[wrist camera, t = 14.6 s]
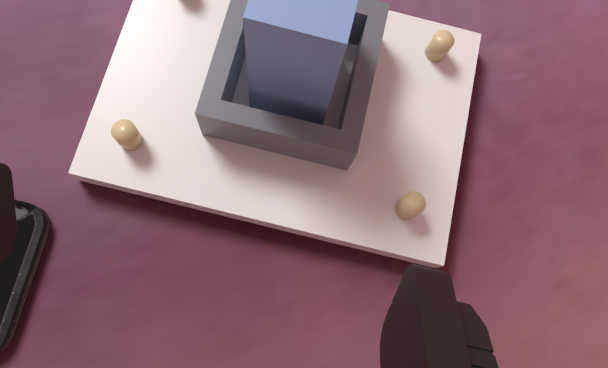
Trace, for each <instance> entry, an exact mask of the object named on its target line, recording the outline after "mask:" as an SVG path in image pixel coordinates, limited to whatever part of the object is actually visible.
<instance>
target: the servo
mask: <svg viewBox="0 0 608 368" xmlns="http://www.w3.org/2000/svg"><path fill="white" fill-rule="evenodd" d="M357 3H358V0H248V2H247V6H246V9H245V12H244V15H243V25H244V38H245V51H246V64H247V77H248V90H249V103H250V107H252V108H256V109H260V110H264V111H268V112H272V113H276V114H280V115H284V116H288V117H292V118H296V119H300V120H304V121H308V122H312V123H316V124H320V125H323V121H324V118H325V115H326V112H327V109H328V105H329V102H330V99H331V96H332V92H333V89H334V86H335V83H336V80H337V76H338V73H339V70H340V67H341V63H342V60H343V57H344V54H345V51H346V47H347V44H348V40H349V36H350V32H351V28H352V24H353V19H354V15H355V11H356V7H357Z"/></svg>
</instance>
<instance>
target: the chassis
mask: <svg viewBox="0 0 608 368" xmlns="http://www.w3.org/2000/svg"><path fill="white" fill-rule="evenodd" d="M247 2H248V0H133V2H132V5H131V7H130V10H129V13H128V15H127V18H126V21H125V23H124V26H123V29H122V31H121V34H120V37H119V39H118V42H117V45H116V47H115V50H114V53H113V55H112V58H111V61H110V63H109V66H108V69H107V71H106V74H105V77H104V79H103V82H102V85H101V87H100V90H99V93H98V95H97V98H96V101H95V103H94V106H93V109H92V111H91V114H90V117H89V119H88V122H87V125H86V127H85V130H84V133H83V135H82V138H81V141H80V143H79V146H78V149H77V151H76V154H75V157H74V159H73V162H72V165H71V167H70V170H69V174H70V175H72V176H73V177H75V178H76V179H78V180H79V181H83V182H87V183H91V184H95V185H99V186H103V187H108V188H112V189H116V190H120V191H124V192H128V193H132V194H136V195H140V196H144V197H148V198H152V199H156V200H160V201H164V202H168V203H172V204H176V205H180V206H185V207H189V208H193V209H197V210H201V211H205V212H209V213H213V214H217V215H221V216H225V217H229V218H233V219H237V220H241V221H245V222H249V223H253V224H257V225H262V226H266V227H270V228H274V229H278V230H282V231H286V232H290V233H294V234H298V235H302V236H306V237H310V238H314V239H318V240H322V241H326V242H330V243H334V244H338V245H343V246H347V247H351V248H355V249H359V250H363V251H367V252H371V253H375V254H379V255H383V256H387V257H391V258H395V259H399V260H403V261H407V262H411V263H415V264H420V265H424V266H428V267H432V268H437V267H442V266H444V263H445V257H446V250H447V244H448V238H449V232H450V226H451V219H452V213H453V207H454V201H455V194H456V188H457V182H458V176H459V169H460V163H461V157H462V151H463V145H464V138H465V132H466V126H467V120H468V113H469V107H470V101H471V95H472V89H473V82H474V76H475V70H476V64H477V57H478V51H479V45H480V39H481V34H480V33H476V32H472V31H468V30H464V29H460V28H456V27H452V26H448V25H444V24H440V23H437V22H433V21H429V20H425V19H421V18H417V17H413V16H409V15H405V14H401V13H397V12H393V11H389V6H390V4H389V3H385V2H381V1H377V0H358V3H357V7H356V11H355V15H354V19H353V24H352V28H351V32H350V36H349V40H348V44H347V47H346V51H345V54H344V57H343V60H342V63H341V67H340V70H339V73H338V76H337V80H336V83H335V86H334V89H333V92H332V96H331V99H330V102H329V105H328V109H327V112H326V115H325V118H324V121H323V125H320V124H316V123H312V122H308V121H304V120H300V119H296V118H292V117H288V116H284V115H280V114H276V113H272V112H268V111H264V110H260V109H256V108H252V107H250V103H249V90H248V77H247V64H246V51H245V38H244V25H243V15H244V12H245V9H246V6H247Z"/></svg>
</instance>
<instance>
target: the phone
mask: <svg viewBox="0 0 608 368" xmlns="http://www.w3.org/2000/svg"><path fill="white" fill-rule="evenodd" d="M14 201H15V211H16V221H17V235H16V239H15V242H14V245H13V247H12V249H11V251H10V253H9V254H8V255H7V257H6V258H5V259H4V260H3V261H2V262H1V263H0V352H1V351H3V350H4V349H5V348H6V347H7V346H8V345H9V343H10V341H11V339H12V337H13V335H14V332H15V329H16V326H17V323H18V320H19V317H20V314H21V312H22V309H23V306H24V303H25V300H26V297H27V294H28V291H29V288H30V285H31V282H32V279H33V276H34V274H35V271H36V268H37V265H38V262H39V259H40V256H41V253H42V250H43V247H44V244H45V241H46V239H47V236H48V233H49V228H50V221H49V217H48V215H47V213H46V212H45V211H44V210H43V209H41V208H40V207H37V206H35V205H32V204H30V203H27V202H22V201H17V200H14ZM28 279H29V280H28ZM26 284H27V285H26ZM25 287H26V288H25ZM24 290H25V291H24ZM23 293H24V294H23ZM14 324H15V326H14Z"/></svg>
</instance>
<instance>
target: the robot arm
mask: <svg viewBox="0 0 608 368" xmlns="http://www.w3.org/2000/svg"><path fill="white" fill-rule="evenodd" d="M16 235H17V221H16V211H15V201H14V191H13V181H12V174H11V171H10V169H9V167H8V166H7V165H5V164H2V163H0V263H1V262H2V261H3V260H4V259H5V258H6V257H7V255H8V254H9V253H10V251H11V249H12V247H13V245H14V242H15V239H16ZM380 364H381V368H498V365H497V362H496V358H495V356H494V355H493V348H492V344H491V341H490V337H489V334H488V330H487V327H486V326H485V324H484V323H483V321H482V320H481V319H480V317H479V316H478V315H477V313H476V312H475V310H474V309H473V308H472V306H471V305H470V304H466V303H461V302H457V301H456V297H455V293H454V288H453V284H452V280H451V276H450V274H449V273H448V272H444V271H440V270H436V269H432V268H427V267H423V266H419V265H415V264H410V265H409V266H408V267H407V269H406V271H405V273H404V275H403V278H402V280H401V282H400V285H399V287H398V289H397V292H396V294H395V297H394V299H393V301H392V304H391V306H390V308H389V311H388V313H387V315H386V318H385V321H384V324H383V328H382V333H381V341H380Z"/></svg>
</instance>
